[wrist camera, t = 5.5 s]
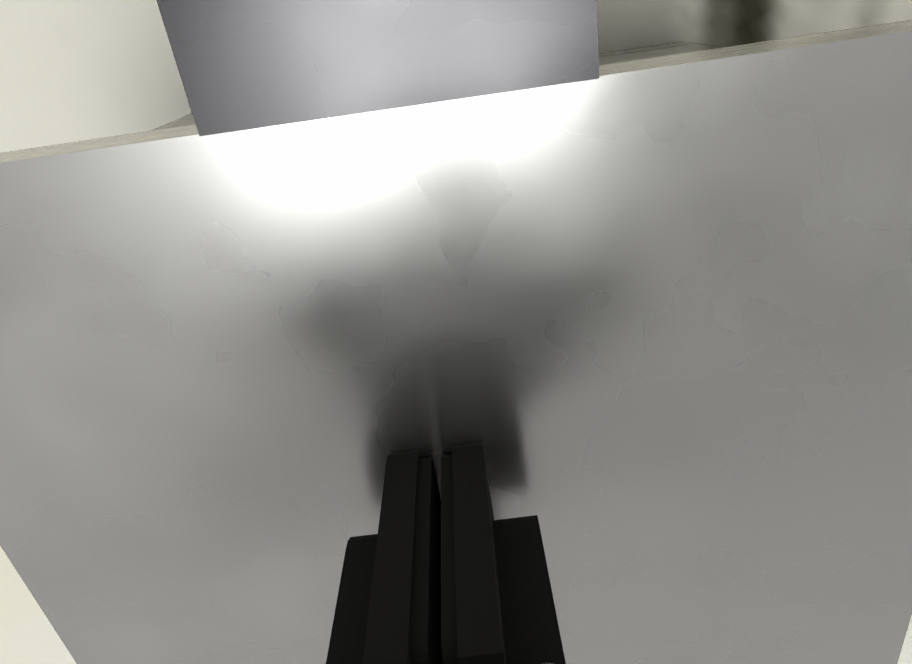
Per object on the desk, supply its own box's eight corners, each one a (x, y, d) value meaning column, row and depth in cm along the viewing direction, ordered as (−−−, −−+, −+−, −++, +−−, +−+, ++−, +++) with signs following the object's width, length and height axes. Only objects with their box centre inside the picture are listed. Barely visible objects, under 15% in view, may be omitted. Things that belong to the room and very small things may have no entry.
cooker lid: (1132, -426, 7) (1583, -698, 4) (840, 735, 16) (917, 879, 14) (-363, -160, 8) (-801, -241, 5) (202, 793, 17) (158, 939, 15)
